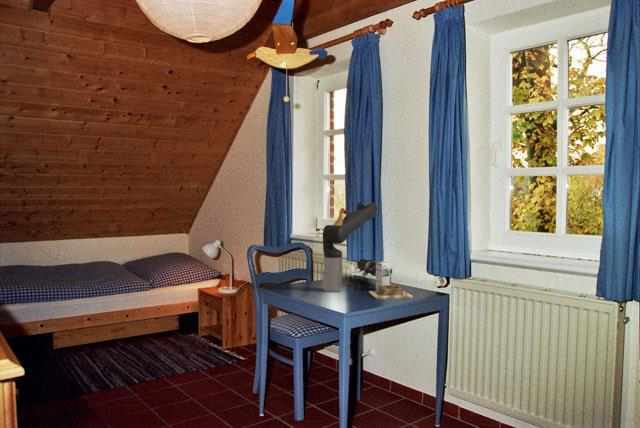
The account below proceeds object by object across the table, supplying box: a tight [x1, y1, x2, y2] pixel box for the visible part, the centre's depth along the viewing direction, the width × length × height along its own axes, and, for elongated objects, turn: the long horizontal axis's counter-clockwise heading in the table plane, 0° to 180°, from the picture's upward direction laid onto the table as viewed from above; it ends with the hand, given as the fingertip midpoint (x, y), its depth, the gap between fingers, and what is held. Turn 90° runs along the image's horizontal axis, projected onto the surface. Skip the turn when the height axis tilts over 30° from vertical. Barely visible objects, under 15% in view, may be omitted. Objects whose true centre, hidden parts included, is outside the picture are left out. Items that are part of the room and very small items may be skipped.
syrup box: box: [375, 261, 392, 291], centre depth 277 cm, size 6×6×14 cm
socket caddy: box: [368, 284, 414, 300], centre depth 265 cm, size 18×14×4 cm
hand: (381, 272), depth 281 cm, fingers open, 8 cm apart
